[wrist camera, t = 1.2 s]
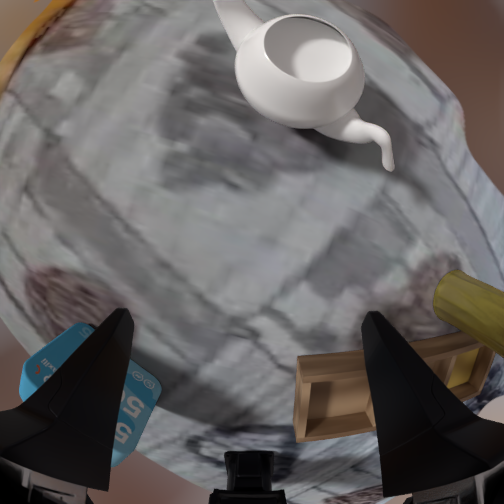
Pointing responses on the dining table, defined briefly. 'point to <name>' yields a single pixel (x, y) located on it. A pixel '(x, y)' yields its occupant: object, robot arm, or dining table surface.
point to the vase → (472, 308)
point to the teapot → (301, 74)
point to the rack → (358, 392)
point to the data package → (133, 398)
